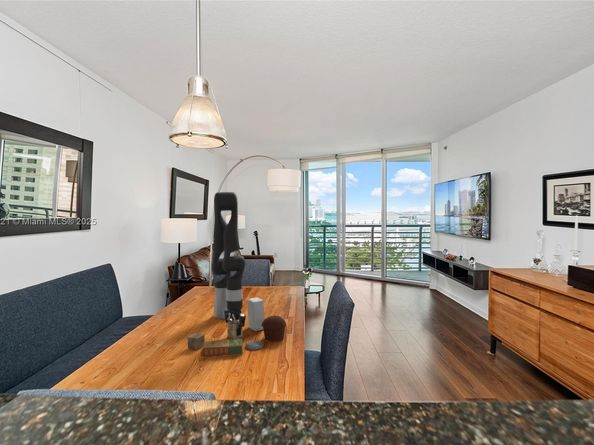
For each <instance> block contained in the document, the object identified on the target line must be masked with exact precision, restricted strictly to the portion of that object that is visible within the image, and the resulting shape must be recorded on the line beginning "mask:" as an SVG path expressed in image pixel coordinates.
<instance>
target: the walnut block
mask: <svg viewBox="0 0 594 445" xmlns="http://www.w3.org/2000/svg"><path fill="white" fill-rule="evenodd" d="M205 341H206V339H205V333H196V332H195V333H193V334H191V335H188V336H187V349H189V350H194V351H198V350H200V349H203V346H204V343H205Z"/></svg>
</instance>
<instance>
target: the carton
mask: <svg viewBox="0 0 594 445" xmlns="http://www.w3.org/2000/svg"><path fill="white" fill-rule="evenodd" d="M243 353H244V352H243V338H238V339H231V338H227V339H218V340H215V339H213V340H205V343H204V346H203V347H202V358H203V359H205V358H216V357H217V358H218V357H229V356H242V355H243Z"/></svg>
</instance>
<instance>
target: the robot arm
mask: <svg viewBox="0 0 594 445" xmlns="http://www.w3.org/2000/svg"><path fill="white" fill-rule="evenodd" d="M238 205H239V204H238V197H237V194H236V192H234V191H219V192H215V194H214V197H213V214H214V216H213V217H214V220H213V221H214V222H213V223H214V224H213V232H212V233H213V236H212V242H213V243H212V259H211V273H212V274H213V275H214V276H223V275H224V276H223V277H221V278H220V279H218V280H216V281H215V282H214V300H213V304H214V305H213V312H214V315H213V316H214V318H215V319H218V320H225V323H226V324H227V322H231V321H234V323H235V324H236V327H237V328H236V335H237V336H240V335H241V327H242V328H244V327H245V326H246V318H247V315H246V314H242V312H243V311H242V309H243V307H244V305H243V302H244V297H243V277H244V276H243V275H244V272H245V267H246V260H245V257H244V256H243V255H233V256H231V254H232V253H235V252H237V251H239V250H240V249H241V248H240V240H239V226H238V223H239V222H238V220H239V216H238V212H239V208H238V207H239V206H238ZM223 211H224V212H225V211H227V212H230V211H231V212H230V218H229V220H228V222H226V220H225V219H224V217H223V215H222V212H223ZM222 254H224V255H223V258H221V255H222ZM232 272H235V273H234V274H233V275H232ZM236 320H238V321H236ZM238 323H239V325H238Z"/></svg>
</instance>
